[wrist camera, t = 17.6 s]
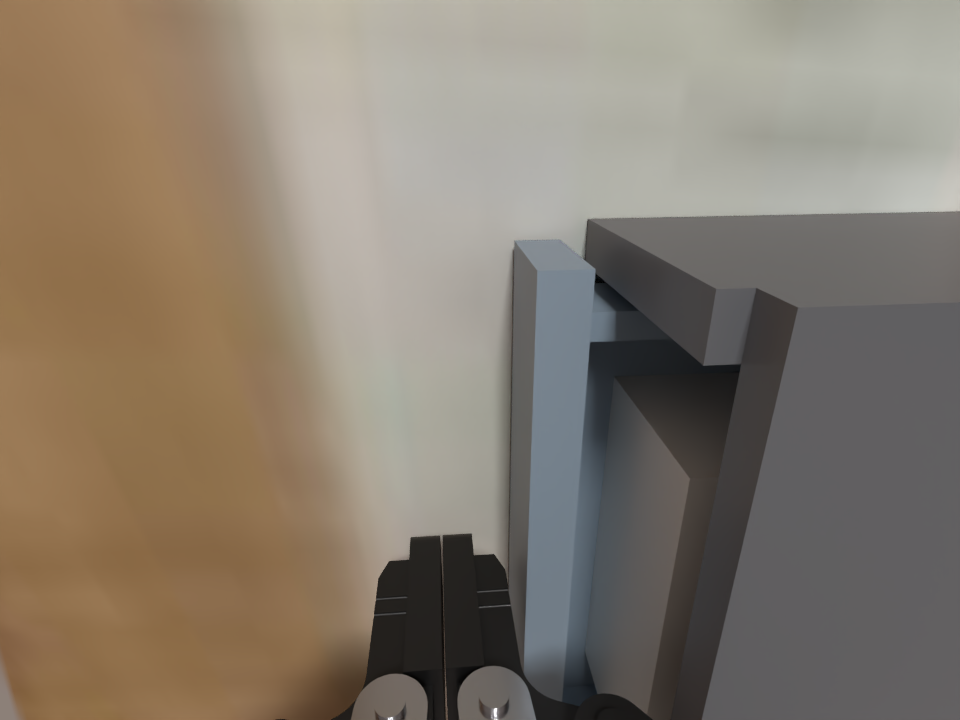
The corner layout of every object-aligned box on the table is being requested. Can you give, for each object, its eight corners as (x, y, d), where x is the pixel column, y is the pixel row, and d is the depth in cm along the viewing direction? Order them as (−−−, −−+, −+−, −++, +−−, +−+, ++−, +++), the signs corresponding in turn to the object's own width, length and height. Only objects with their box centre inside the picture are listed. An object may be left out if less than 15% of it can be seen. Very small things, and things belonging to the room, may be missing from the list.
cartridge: (818, 369, 13) (980, 468, 9) (746, 639, 16) (840, 791, 12) (613, 376, 12) (693, 481, 9) (585, 651, 16) (631, 811, 12)
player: (1165, 207, 13) (1877, 277, 6) (943, 672, 19) (1194, 937, 13) (587, 218, 12) (763, 315, 5) (554, 705, 18) (618, 1010, 12)
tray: (1105, 227, 13) (1278, 251, 10) (908, 674, 18) (984, 761, 16) (514, 240, 12) (537, 270, 9) (506, 707, 17) (518, 806, 15)
